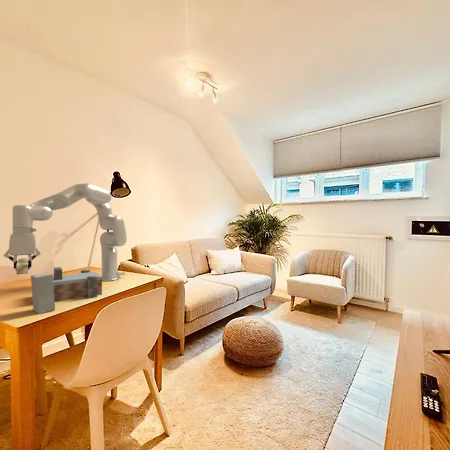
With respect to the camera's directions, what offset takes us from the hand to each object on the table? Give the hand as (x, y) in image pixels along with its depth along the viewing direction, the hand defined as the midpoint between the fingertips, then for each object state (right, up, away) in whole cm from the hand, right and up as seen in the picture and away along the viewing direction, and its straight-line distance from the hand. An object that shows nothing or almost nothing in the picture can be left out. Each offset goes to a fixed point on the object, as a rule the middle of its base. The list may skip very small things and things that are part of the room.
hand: (22, 269), depth 124 cm
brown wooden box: (+16, -16, +13) cm, 26 cm away
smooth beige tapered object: (0, 0, 0) cm, 0 cm away
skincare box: (+17, -16, -10) cm, 26 cm away
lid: (+16, -8, +12) cm, 22 cm away
